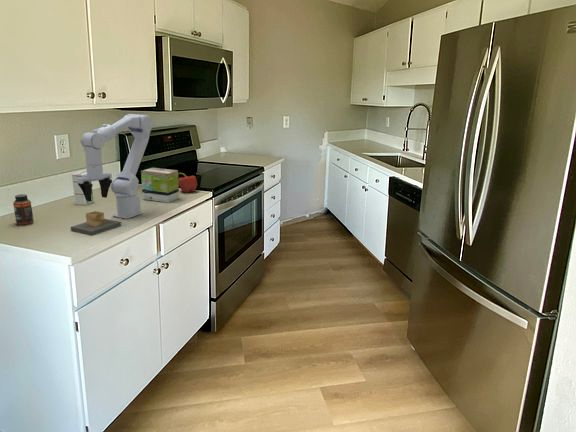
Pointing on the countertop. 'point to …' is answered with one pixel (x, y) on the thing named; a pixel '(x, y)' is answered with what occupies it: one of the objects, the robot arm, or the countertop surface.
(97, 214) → the oak cube
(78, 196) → the syrup box
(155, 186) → the tea box
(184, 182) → the vegetable
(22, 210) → the supplement bottle
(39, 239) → the countertop surface
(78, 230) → the charcoal mat
